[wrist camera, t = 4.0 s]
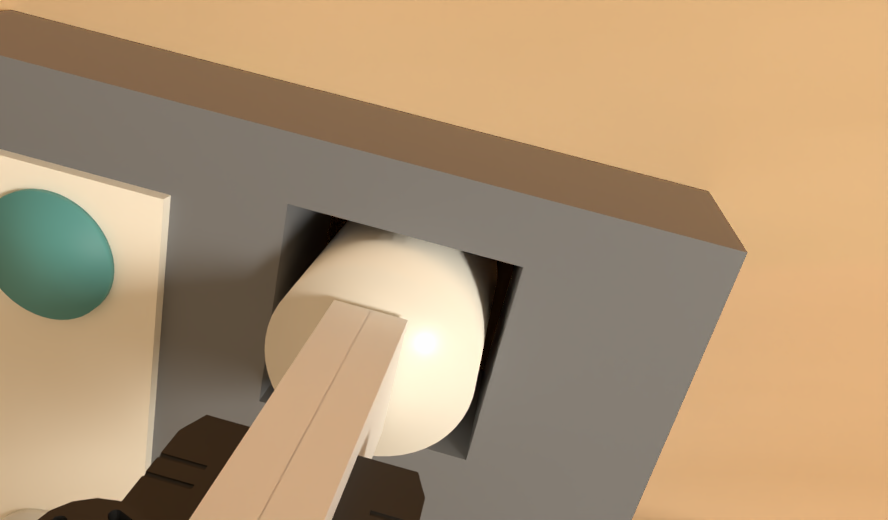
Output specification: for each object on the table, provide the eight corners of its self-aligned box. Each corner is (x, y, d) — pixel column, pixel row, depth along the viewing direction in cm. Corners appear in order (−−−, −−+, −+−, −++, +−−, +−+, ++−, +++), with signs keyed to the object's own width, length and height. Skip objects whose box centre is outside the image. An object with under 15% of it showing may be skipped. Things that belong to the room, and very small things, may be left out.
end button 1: (516, 216, 18) (500, 301, 14) (475, 361, 20) (449, 480, 15) (349, 171, 19) (279, 241, 14) (322, 319, 20) (253, 423, 16)
